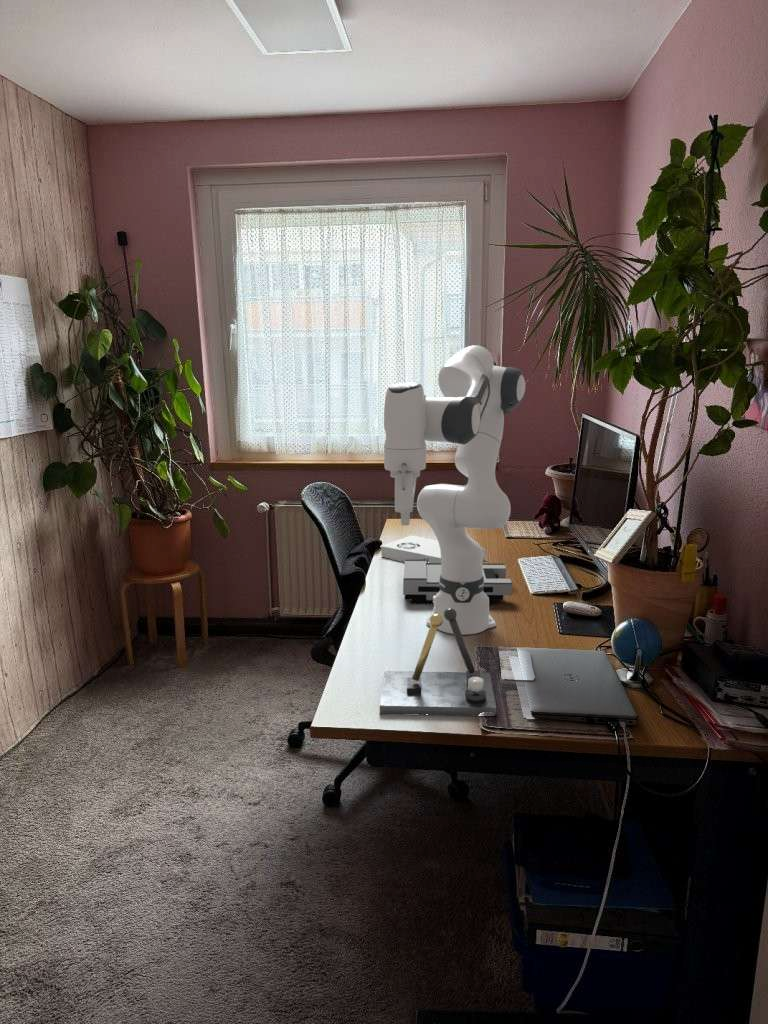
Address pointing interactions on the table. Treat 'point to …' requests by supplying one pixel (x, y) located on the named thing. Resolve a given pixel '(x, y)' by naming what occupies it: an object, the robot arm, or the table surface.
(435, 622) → the brass lever
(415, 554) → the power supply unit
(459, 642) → the black lever
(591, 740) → the table surface
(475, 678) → the grey button
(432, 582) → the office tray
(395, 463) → the robot arm
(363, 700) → the table surface
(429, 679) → the switch panel
